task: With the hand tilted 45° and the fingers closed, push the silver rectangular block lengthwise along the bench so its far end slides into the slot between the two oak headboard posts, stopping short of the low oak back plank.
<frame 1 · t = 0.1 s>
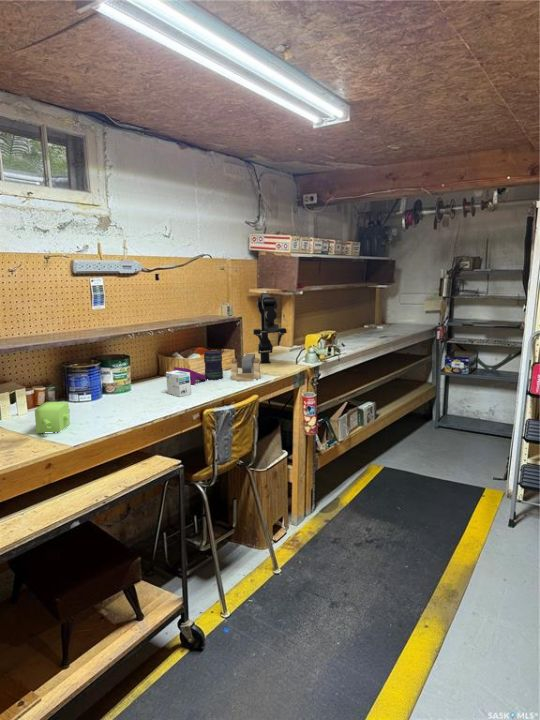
hand: (270, 346, 268), 15 cm above the table, tool pointing down, fingers open, 9 cm apart
storage jar: (214, 378, 255), on the table
light bulb box: (179, 394, 223), on the table
gearbox: (55, 430, 174), on the table
mounting bracket: (191, 383, 246), on the table
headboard: (246, 379, 250), on the table
silver rectangular block: (249, 374, 265), on the table
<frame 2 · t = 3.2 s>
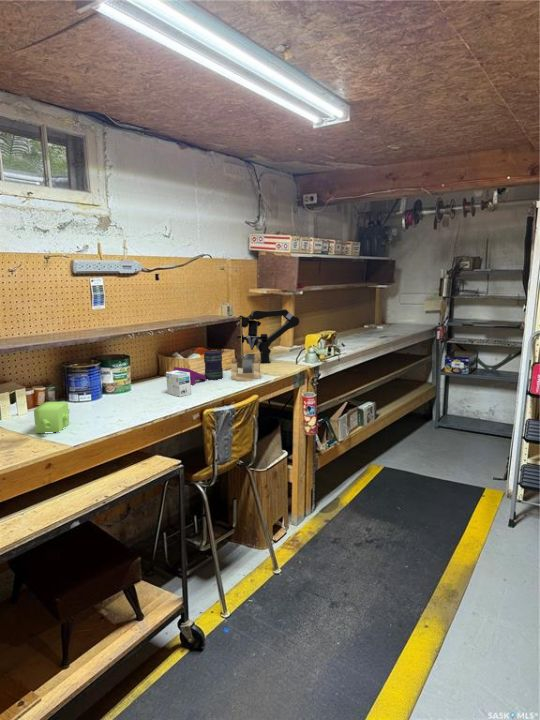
hand: (251, 349, 282), 11 cm above the table, tool tilted 45°, fingers closed
nothing on the table moved.
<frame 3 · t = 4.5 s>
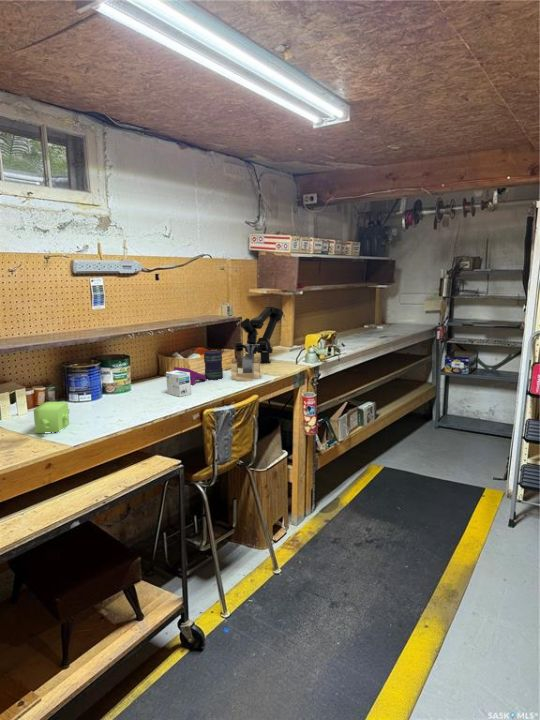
hand: (250, 358, 273), 7 cm above the table, tool tilted 45°, fingers closed
silver rectangular block: (249, 374, 264), on the table, touching gripper
everything else where it was.
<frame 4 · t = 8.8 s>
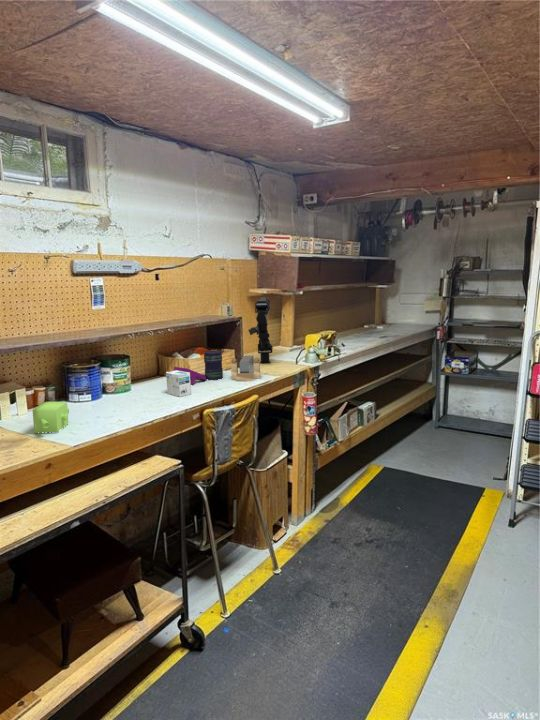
hand: (263, 347, 280), 12 cm above the table, tool pointing down, fingers closed
silver rectangular block: (247, 376, 259), on the table
everything else where it was.
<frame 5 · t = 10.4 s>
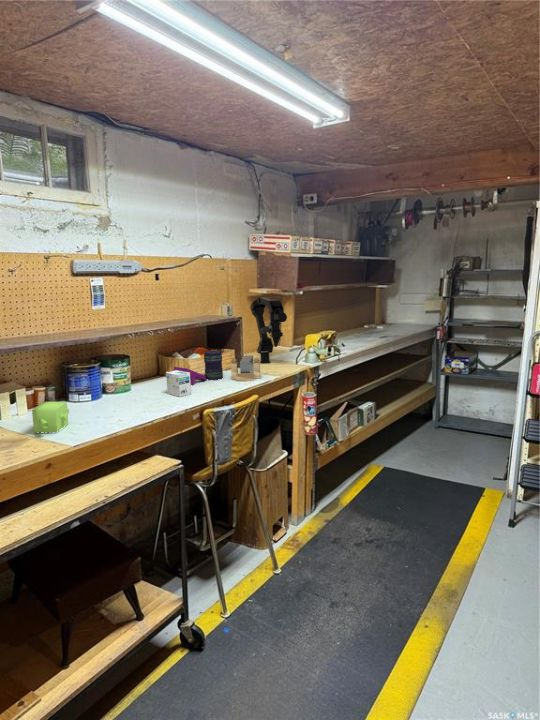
hand: (275, 346, 282), 12 cm above the table, tool pointing down, fingers closed
nothing on the table moved.
at the end: silver rectangular block 0.7 cm from the target spot, on the table; silver rectangular block moved 5.7 cm from its start; silver rectangular block tilted 0° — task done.
